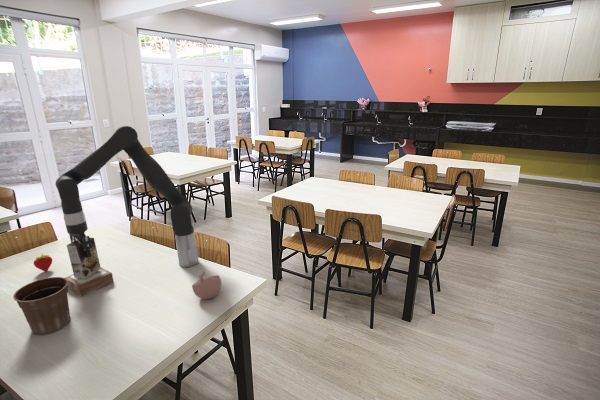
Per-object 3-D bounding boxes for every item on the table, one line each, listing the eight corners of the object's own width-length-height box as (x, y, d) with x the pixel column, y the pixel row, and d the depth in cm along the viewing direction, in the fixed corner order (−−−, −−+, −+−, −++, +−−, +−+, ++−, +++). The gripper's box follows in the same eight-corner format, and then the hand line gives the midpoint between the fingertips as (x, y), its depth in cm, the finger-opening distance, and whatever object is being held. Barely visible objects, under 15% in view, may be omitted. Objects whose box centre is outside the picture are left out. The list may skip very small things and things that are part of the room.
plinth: (113, 282, 154) (111, 272, 153) (81, 296, 143) (79, 286, 142) (98, 273, 162) (96, 264, 160) (67, 287, 151) (64, 277, 149)
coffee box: (86, 279, 146) (77, 246, 141) (74, 277, 147) (65, 245, 142) (101, 268, 154) (94, 237, 149) (90, 267, 156) (82, 236, 151)
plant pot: (87, 315, 131) (78, 280, 126) (45, 343, 116) (33, 304, 111) (58, 308, 136) (48, 273, 131) (14, 333, 122) (2, 296, 117)
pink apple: (213, 285, 150) (211, 263, 147) (227, 296, 142) (225, 273, 139) (188, 296, 142) (185, 273, 139) (202, 308, 134) (199, 284, 131)
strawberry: (35, 271, 165) (30, 253, 162) (53, 266, 170) (48, 248, 167) (37, 276, 161) (32, 257, 158) (56, 270, 166) (51, 252, 163)
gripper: (92, 221, 142) (100, 255, 147) (77, 215, 150) (85, 248, 155) (73, 227, 136) (82, 262, 141) (58, 221, 144) (67, 254, 149)
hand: (83, 254), depth 148 cm, fingers closed on coffee box, 8 cm apart
